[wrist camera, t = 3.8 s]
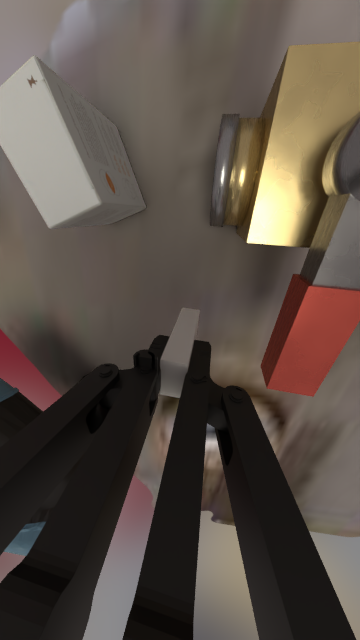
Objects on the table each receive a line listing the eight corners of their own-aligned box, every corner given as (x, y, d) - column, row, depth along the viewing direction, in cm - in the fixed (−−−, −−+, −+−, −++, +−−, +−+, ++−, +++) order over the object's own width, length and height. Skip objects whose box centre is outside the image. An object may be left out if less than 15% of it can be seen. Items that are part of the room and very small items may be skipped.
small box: (77, 151, 21) (-28, 102, 12) (118, 125, 20) (30, 46, 10) (110, 225, 25) (47, 231, 15) (148, 209, 23) (100, 204, 14)
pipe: (211, 224, 22) (207, 227, 15) (222, 135, 18) (224, 89, 11) (365, 235, 19) (438, 244, 13) (414, 136, 16) (552, 79, 9)
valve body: (219, 231, 22) (218, 242, 13) (234, 128, 18) (250, 27, 8) (347, 240, 21) (460, 262, 11) (399, 128, 16) (665, -3, 6)
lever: (344, 98, 9) (386, 57, 7) (454, 95, 8) (542, 50, 6) (254, 364, 17) (260, 387, 15) (306, 373, 16) (320, 397, 14)
